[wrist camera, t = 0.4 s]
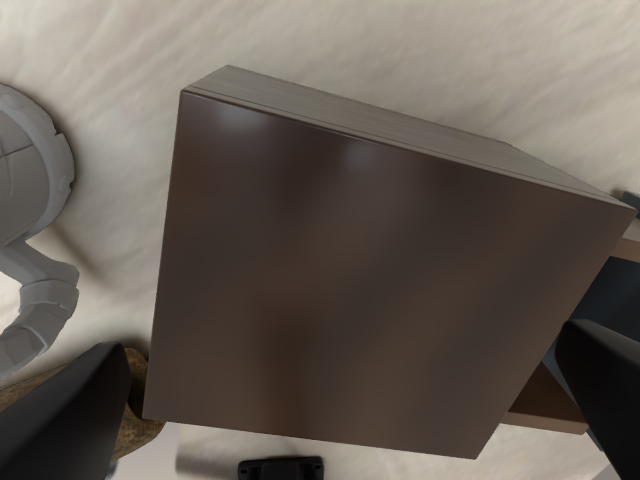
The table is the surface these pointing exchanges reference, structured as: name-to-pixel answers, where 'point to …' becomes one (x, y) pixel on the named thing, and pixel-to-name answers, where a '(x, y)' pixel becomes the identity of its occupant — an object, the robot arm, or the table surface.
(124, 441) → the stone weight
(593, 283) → the drawer
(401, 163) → the cabinet
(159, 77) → the table surface
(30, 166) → the mug
